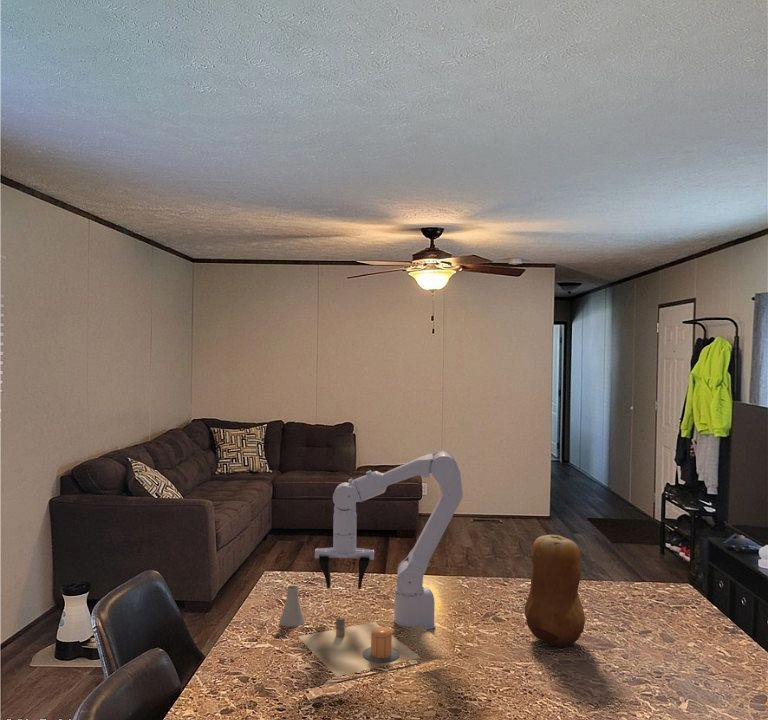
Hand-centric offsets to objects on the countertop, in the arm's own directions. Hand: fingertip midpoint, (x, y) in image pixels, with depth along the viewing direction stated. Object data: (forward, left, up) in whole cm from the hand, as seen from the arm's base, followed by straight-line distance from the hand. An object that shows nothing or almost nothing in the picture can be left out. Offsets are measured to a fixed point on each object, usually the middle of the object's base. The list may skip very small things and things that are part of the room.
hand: (344, 587), depth 176 cm
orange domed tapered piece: (+1, +22, -8) cm, 23 cm away
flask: (+12, -4, -10) cm, 16 cm away
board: (+4, +16, -9) cm, 19 cm away
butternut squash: (-40, +31, -10) cm, 51 cm away
